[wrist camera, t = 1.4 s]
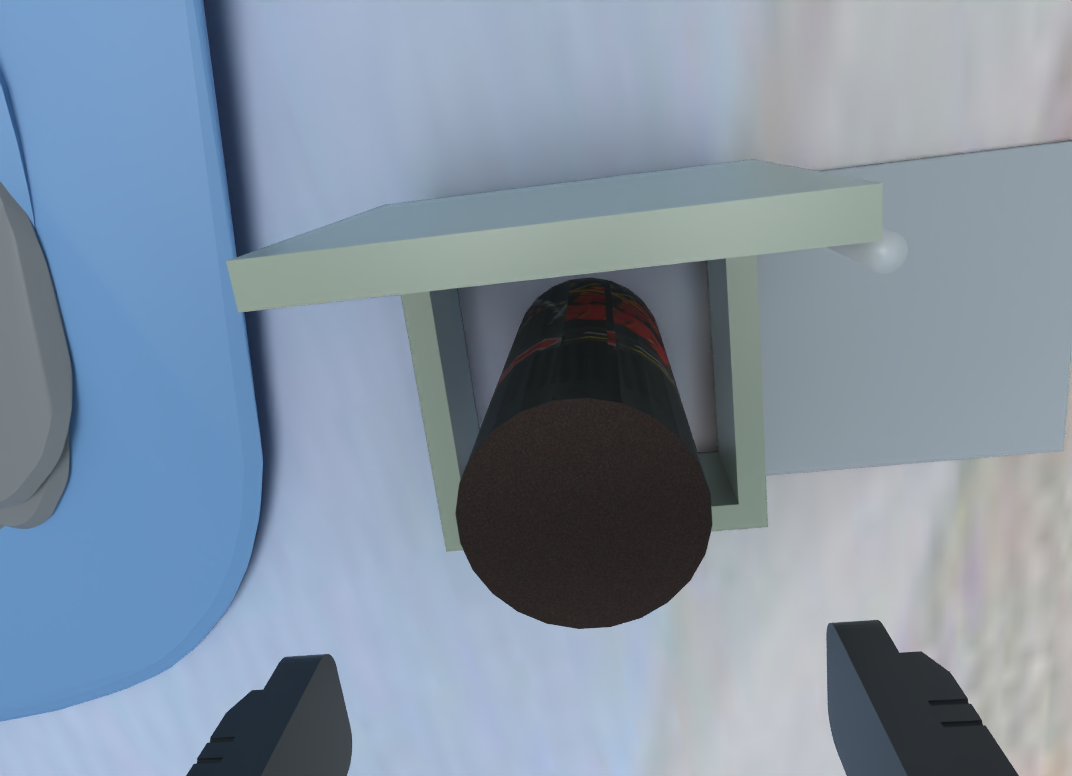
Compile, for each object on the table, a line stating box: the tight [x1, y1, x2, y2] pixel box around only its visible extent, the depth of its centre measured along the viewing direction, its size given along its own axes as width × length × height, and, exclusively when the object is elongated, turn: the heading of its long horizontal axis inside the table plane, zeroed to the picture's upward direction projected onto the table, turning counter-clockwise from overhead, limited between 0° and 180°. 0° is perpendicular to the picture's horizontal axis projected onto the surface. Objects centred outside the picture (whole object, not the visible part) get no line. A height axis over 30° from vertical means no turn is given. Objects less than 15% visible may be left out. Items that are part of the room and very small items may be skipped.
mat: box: [757, 140, 1072, 475], centre depth 31 cm, size 12×12×1 cm
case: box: [226, 159, 908, 551], centre depth 24 cm, size 13×13×17 cm
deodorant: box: [455, 278, 712, 629], centre depth 26 cm, size 6×6×15 cm
